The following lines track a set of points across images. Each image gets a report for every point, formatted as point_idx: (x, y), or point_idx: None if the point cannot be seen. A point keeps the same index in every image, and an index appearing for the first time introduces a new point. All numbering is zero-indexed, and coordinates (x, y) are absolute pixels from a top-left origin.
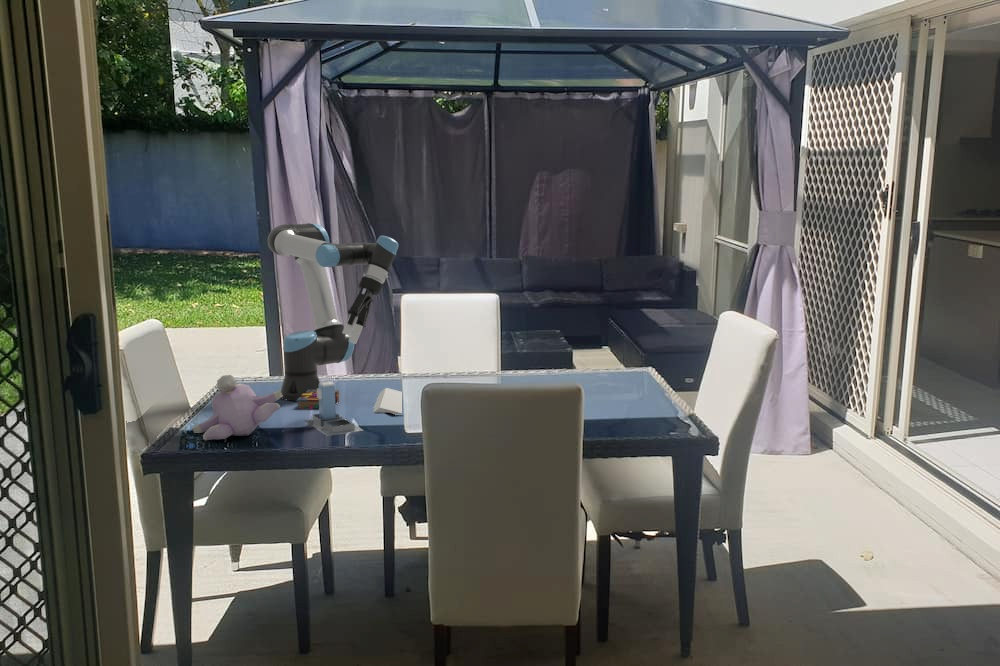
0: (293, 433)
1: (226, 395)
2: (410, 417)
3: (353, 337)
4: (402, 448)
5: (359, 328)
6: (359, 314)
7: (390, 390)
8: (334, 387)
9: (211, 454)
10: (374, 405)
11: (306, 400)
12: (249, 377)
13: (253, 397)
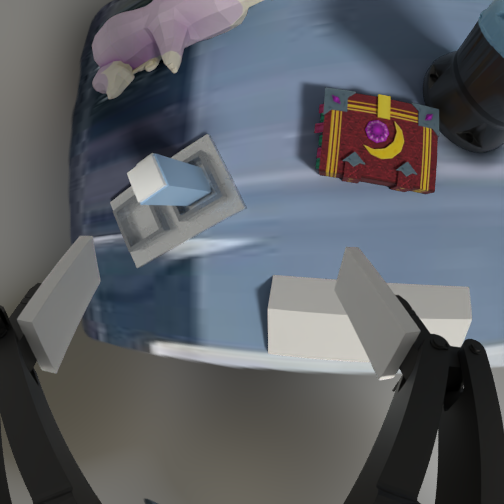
0: (152, 132)
1: None
2: (253, 364)
3: (352, 285)
4: (85, 322)
5: (376, 348)
6: (399, 419)
7: (454, 329)
8: (143, 203)
9: (84, 63)
10: None
11: (323, 111)
12: None
13: (157, 27)
